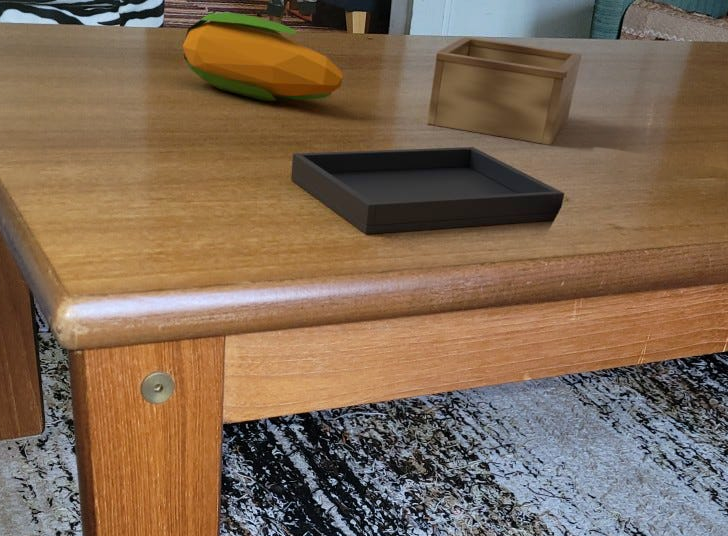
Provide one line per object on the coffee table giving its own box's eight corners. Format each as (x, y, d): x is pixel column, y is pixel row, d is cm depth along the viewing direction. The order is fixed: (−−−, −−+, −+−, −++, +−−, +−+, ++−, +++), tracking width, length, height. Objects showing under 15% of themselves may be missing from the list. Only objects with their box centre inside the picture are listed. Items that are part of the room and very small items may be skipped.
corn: (211, -3, 106) (368, 28, 97) (212, 73, 110) (363, 109, 102) (164, 7, 101) (326, 41, 92) (168, 86, 105) (322, 125, 97)
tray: (469, 171, 87) (473, 146, 86) (558, 220, 77) (565, 193, 76) (290, 180, 80) (292, 153, 79) (365, 234, 70) (369, 205, 69)
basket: (568, 120, 107) (582, 54, 103) (550, 145, 97) (565, 72, 93) (454, 101, 110) (464, 36, 106) (425, 124, 100) (435, 52, 96)
